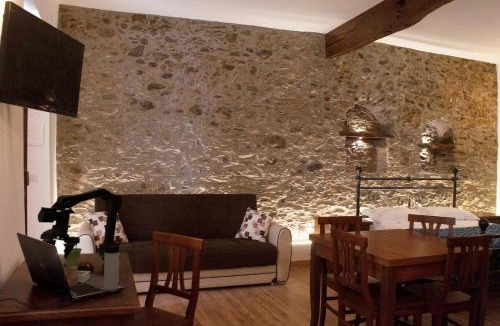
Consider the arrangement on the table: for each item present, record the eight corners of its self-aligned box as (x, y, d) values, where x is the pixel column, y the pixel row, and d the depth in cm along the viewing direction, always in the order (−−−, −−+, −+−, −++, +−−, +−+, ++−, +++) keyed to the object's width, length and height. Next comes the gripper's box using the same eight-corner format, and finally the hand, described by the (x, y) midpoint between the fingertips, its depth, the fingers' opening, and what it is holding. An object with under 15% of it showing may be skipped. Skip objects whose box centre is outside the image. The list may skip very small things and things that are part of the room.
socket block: (89, 279, 198) (90, 271, 198) (83, 284, 190) (83, 275, 190) (73, 279, 198) (73, 270, 198) (65, 284, 190) (66, 275, 190)
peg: (77, 285, 188) (77, 265, 188) (73, 288, 184) (74, 268, 184) (68, 285, 188) (68, 265, 188) (64, 288, 184) (65, 267, 184)
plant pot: (58, 266, 221) (59, 250, 221) (71, 262, 230) (71, 247, 230) (73, 268, 218) (73, 251, 218) (85, 264, 227) (85, 248, 227)
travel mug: (121, 289, 184) (123, 244, 184) (107, 292, 179) (109, 246, 179) (114, 286, 188) (115, 242, 188) (100, 289, 183) (102, 244, 183)
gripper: (32, 220, 187) (27, 255, 186) (63, 225, 180) (59, 262, 179) (52, 220, 197) (47, 253, 196) (82, 225, 190) (78, 259, 189)
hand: (57, 257), depth 190 cm, fingers open, 9 cm apart
